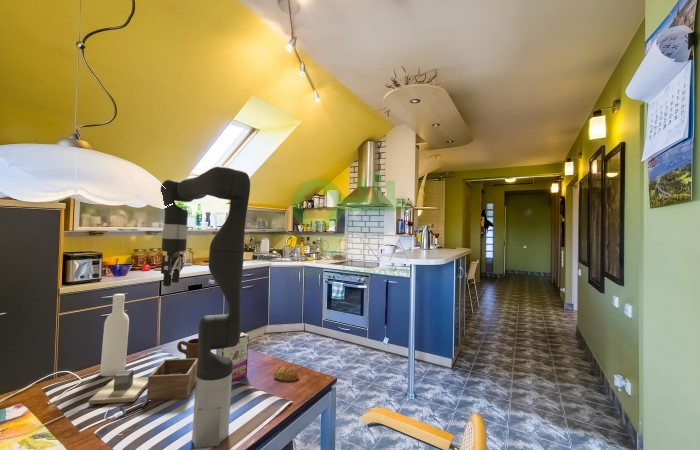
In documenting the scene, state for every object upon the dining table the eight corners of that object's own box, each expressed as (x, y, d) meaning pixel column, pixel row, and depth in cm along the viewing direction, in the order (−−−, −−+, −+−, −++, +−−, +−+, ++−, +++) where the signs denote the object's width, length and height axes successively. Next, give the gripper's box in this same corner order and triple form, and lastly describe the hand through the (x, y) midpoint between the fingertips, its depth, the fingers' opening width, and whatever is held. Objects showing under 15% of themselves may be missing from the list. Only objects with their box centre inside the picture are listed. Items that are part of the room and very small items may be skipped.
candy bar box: (239, 372, 123) (242, 331, 124) (247, 376, 120) (249, 334, 121) (213, 382, 114) (216, 338, 115) (220, 386, 111) (223, 341, 112)
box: (186, 399, 102) (188, 374, 102) (146, 401, 99) (148, 376, 100) (197, 379, 116) (199, 358, 116) (162, 381, 113) (164, 359, 113)
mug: (170, 366, 126) (172, 343, 126) (181, 358, 134) (182, 337, 134) (199, 367, 126) (201, 344, 126) (208, 360, 133) (209, 338, 134)
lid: (133, 403, 98) (135, 381, 99) (88, 406, 96) (90, 384, 96) (152, 382, 112) (153, 363, 113) (113, 384, 110) (114, 364, 110)
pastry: (300, 376, 123) (301, 366, 123) (293, 383, 117) (294, 373, 117) (279, 372, 126) (280, 363, 126) (271, 379, 119) (272, 370, 119)
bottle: (119, 376, 115) (125, 296, 116) (95, 377, 114) (101, 296, 115) (129, 367, 123) (135, 292, 124) (107, 368, 121) (113, 292, 123)
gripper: (180, 238, 100) (176, 287, 100) (192, 238, 114) (189, 281, 113) (154, 237, 99) (150, 287, 98) (170, 237, 113) (166, 281, 112)
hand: (171, 284), depth 106 cm, fingers open, 8 cm apart
